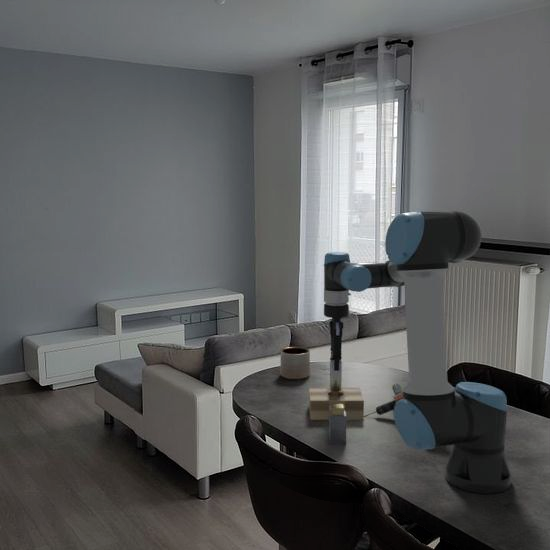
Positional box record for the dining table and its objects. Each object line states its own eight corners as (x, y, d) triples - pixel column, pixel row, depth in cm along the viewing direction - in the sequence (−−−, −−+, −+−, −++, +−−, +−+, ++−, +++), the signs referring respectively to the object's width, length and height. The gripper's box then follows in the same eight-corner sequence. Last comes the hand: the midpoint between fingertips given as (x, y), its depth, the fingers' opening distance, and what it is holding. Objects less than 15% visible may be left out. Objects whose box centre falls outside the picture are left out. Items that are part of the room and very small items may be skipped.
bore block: (363, 419, 194) (363, 400, 193) (310, 419, 195) (310, 400, 194) (359, 405, 206) (359, 387, 205) (309, 405, 206) (309, 387, 206)
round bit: (341, 391, 198) (342, 353, 196) (330, 391, 198) (330, 353, 196) (340, 387, 201) (341, 350, 199) (329, 387, 201) (329, 350, 199)
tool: (454, 402, 176) (433, 365, 206) (362, 438, 180) (354, 396, 209) (460, 415, 177) (437, 376, 206) (368, 450, 180) (359, 407, 210)
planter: (278, 379, 234) (278, 353, 232) (282, 370, 244) (282, 346, 243) (308, 380, 232) (308, 355, 230) (311, 372, 242) (311, 347, 241)
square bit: (346, 443, 177) (346, 408, 175) (330, 443, 177) (330, 408, 176) (344, 437, 181) (345, 403, 180) (329, 437, 181) (329, 403, 180)
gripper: (351, 308, 187) (350, 386, 191) (346, 298, 203) (345, 369, 207) (325, 308, 187) (324, 386, 191) (322, 298, 203) (322, 369, 207)
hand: (335, 377), depth 199 cm, fingers closed on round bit, 3 cm apart
